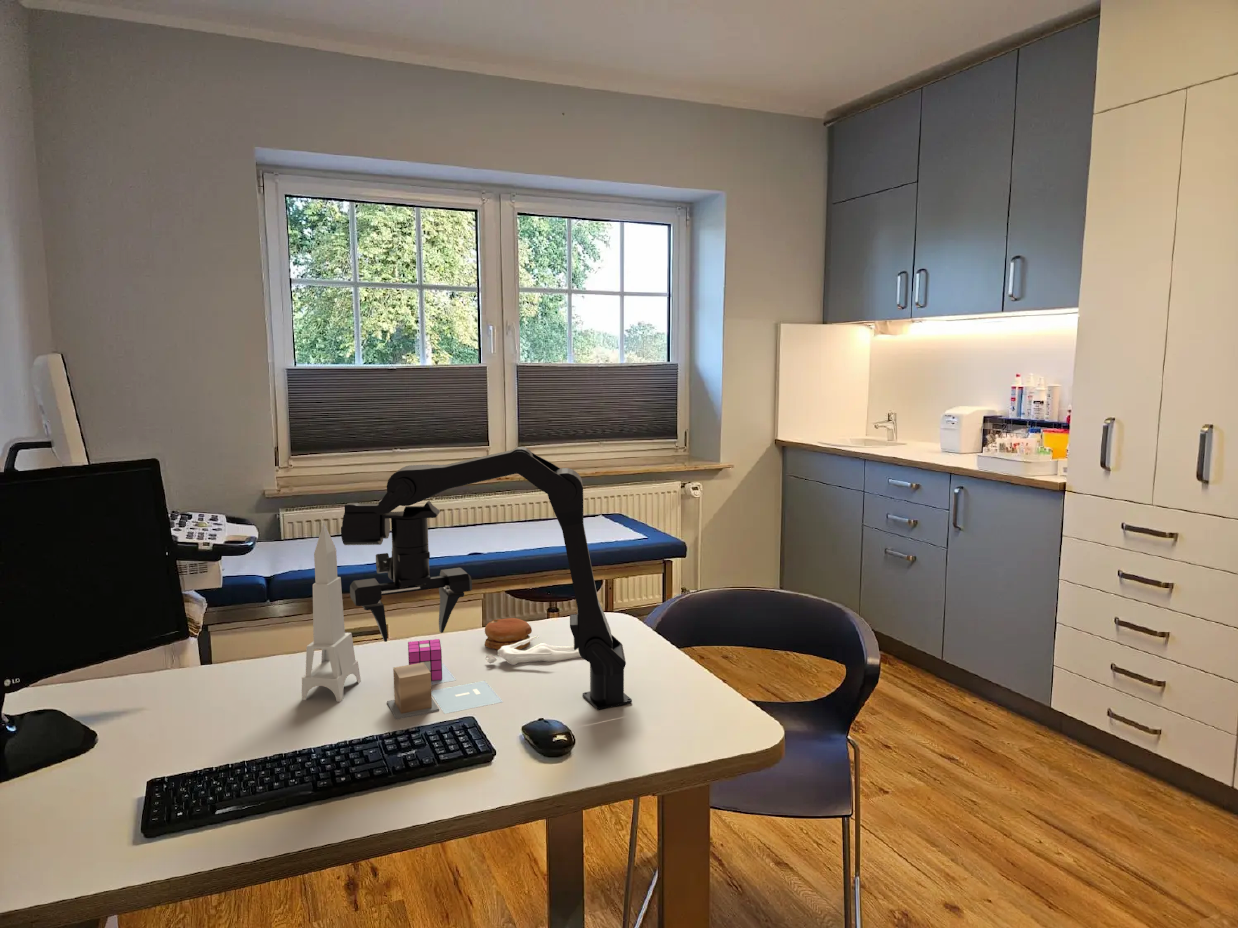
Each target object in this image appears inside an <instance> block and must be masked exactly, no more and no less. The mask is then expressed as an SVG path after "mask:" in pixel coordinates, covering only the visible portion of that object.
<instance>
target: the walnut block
mask: <svg viewBox="0 0 1238 928" xmlns="http://www.w3.org/2000/svg"><path fill="white" fill-rule="evenodd" d="M392 669H393V671H392V672H393V696H394V698H393V700H395V704H396V705H397V707H398V709H399V711H400V712H401V714H402V713H407V712H412V711H417V710H422V709H427V708H432V699H433V696H432V694H431V691H432V685H431V672H430V671H429V670H428V668H427V667H426V666H425V664H424V663H417V664H412V665H409V664H407V665H401V666H396V667H392Z"/></svg>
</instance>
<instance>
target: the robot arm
mask: <svg viewBox="0 0 1238 928" xmlns="http://www.w3.org/2000/svg"><path fill="white" fill-rule="evenodd" d="M512 475H519V476H521V477H522V478H524V479H525V480H526V481H528V482H529V483H531V484H532V485H534V486H535V487H536V488H537V489H539V490H540V491H542V492H543V493H545V494H547V497H548V500H549V503H550V505H551V507H552V510H553V513H554V515H555V517H556V519H557V521H558V524H559V526H560V528H561V531H562V536H563V541H564V545H565V546H564V547H565V551H566V555H567V561H568V567H569V570H570V571H569V572H570V576H571V577H570V578H571V583H572V586H573V587H572V588H573V593H574V596H575V602H576V609H577V614H569V628H570V631H571V633H572V635H573V645H574V650H576V649H577V648H578V650H579V654H580V656H581V657H580V658H582V659H583V660H584V661H586V662H588V663H589V678H590V679H589V691H585V692H582V698H584V699H585V700H586V701H587V702H589V704H591V705H592V706H593V707H594V709H596V710H600V711H601V710H604V709H610V708H614V707H618V706H622V705H623V706H624V705H627V704H628V705H629V704H631V703H632V702H633V699H632V698H631V697H630V696H628V695H627V694H626V693H625V690H624V689H625V687H624V686H625V678H624V677H625V667H626V664H627V662H626V657H625V653H624V652H625V651H624V646H623V643H622V642H621V641H620V640H618V638H616V636H614V635H613V634H612V631H611V627H610V624H609V622H608V619H607V617H606V614H605V612H604V609H603V607H602V605H601V602H600V600H599V598H598V592H597V588H596V581H595V577H594V571H593V566H592V561H591V557H590V551H589V544H588V541H587V537H586V530H585V525H584V486H583V479H582V477H581V475H580V474H579V473H578V472H577V471H576V470H575V469H571V468H569V467H561V468H560V467H559V466H557V465H556V464H554V463H552V462H551V461H549V460H547V459H545V458H543V457H541V456H539V455H537V454H535V453H534V452H532V450H531V449H529V448H528V447H525V446H518V447H515V448H513V449H510V450H506V451H502V452H497V453H493V454H489V455H488V454H487V455H483V456H478V457H473V458H470V459H466V460H460V461H457V462H453V463H448V464H411V465H406V466H403V467H401V468H400V469H398V470H396V471H395V472H394V473H393V474H391V475H390V477H389V478H388V480H387V484H386V491H387V492H386V493H385V494H384V496H383V497H382V499H380V500H379V501H378V503H358V502H347V504H345V505H344V513H343V515H342V516H343V517H342V522H341V523H342V524H341V527H340V535H341V541H342V544H343V545H344V546H381V545H382V544H383V541H384V539H389V537H390V532H391V556H389V552H385V553H377V554H375V567H376V573H377V574H385V573H386V574H387V576H388V579H389V580H391V581H392V582H384V583H379V582H378V581H377V578H375V577H374V578H366V579H365V578H363V579H359V580H358V579H357V580H353V581H352V582H351V584H350V585H349V595H350V600H351V601H352V602H353V604H354V605H355V606H356V607H362V608H363V610H365V611H370V612H371V614H372V615H373V616H374V619H375V622H376V624H377V627H378V630H379V632H380V634H381V637H382V640H383V642H384V643H387V642H388V629H387V627H388V626H387V619H386V611H385V604H384V603H383V602H382V599H383V596H389V595H397V594H404V593H409V592H410V593H411V592H419V591H425V590H433V589H434V590H435V589H438V593H439V594H438V595H439V610H438V611H439V612H438V613H439V614H438V628H439V632H440V634H442V633H444V631H445V629H446V626H447V624H448V622H449V620H450V616H451V614H452V612H453V610H454V608H455V606H456V604H457V602H458V600H459V599H460V598H463V597H465V592H471V591H472V590H473V580H472V576H471V575H470V574H469V573H468V572H467V571H465V570H464V569H463V568H462V567H453V568H448V569H447V568H446V569H445V568H444V569H440V571H439V572H440V573H439V575H437V576H430V559H431V557H430V556H431V554H430V551H429V549H430V548H429V525H428V523H429V522H428V521H429V519H436V518H437V517H438V515H439V514H440V513H441V510H440V509H439V508H437V507H436V506H434V504H432V502H431V501H430V500H428V501H427V502H426V503H425V504H424V505H417V506H415V505H414V504H417V503H419V502H422V501H424V500H427V499H430V498H432V497H434V496H435V495H437V494H440V493H442V492H445V491H446V490H450V489H453V488H459V487H463V486H467V485H471V484H476V483H480V482H485V481H489V480H494V479H499V478H504V477H506V476H512ZM413 505H414V506H413ZM400 506H401V507H404V509H403V510H401V511H394V510H395V509H397V508H398V507H400Z"/></svg>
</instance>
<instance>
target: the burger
mask: <svg viewBox="0 0 1238 928" xmlns="http://www.w3.org/2000/svg"><path fill="white" fill-rule="evenodd" d="M532 630H533V628H532V626H531V624H530V623H528V622H527V621H525V620H523V619H520V618H516V617H515V618H514V617H508V618H500V619H493V620H491V621H489V622H488V623H487V624H486V626H485V627H484V634H485V636H486V637H487V638H485V641H484V646H485V647H486V648H488V649H494V650H496V651H498V650H499V649H500V648H501V647H502V646H507V645H512V644H515V643H517V642H520V641H523V640H526V639H529V638H531V636H530V635H531V633H532ZM530 643H531V641H530V642H528V643H526V644H524V645H520V646H517V647H516V648H514V649H517V650H523V649H525V648H527V647H529V645H530Z"/></svg>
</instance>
